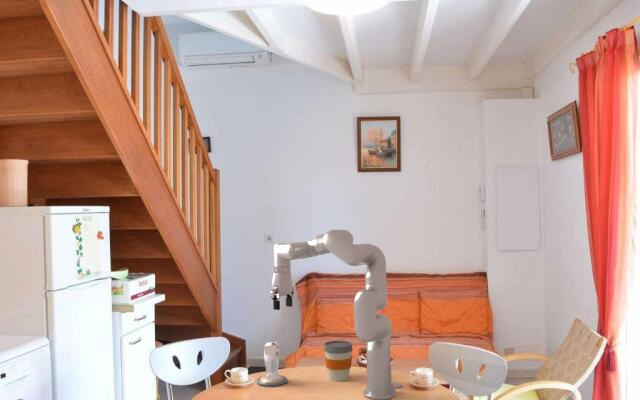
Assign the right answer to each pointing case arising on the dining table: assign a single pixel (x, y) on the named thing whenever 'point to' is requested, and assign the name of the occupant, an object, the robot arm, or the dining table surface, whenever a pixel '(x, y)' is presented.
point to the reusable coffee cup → (338, 359)
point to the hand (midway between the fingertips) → (283, 308)
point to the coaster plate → (266, 383)
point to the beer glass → (271, 360)
